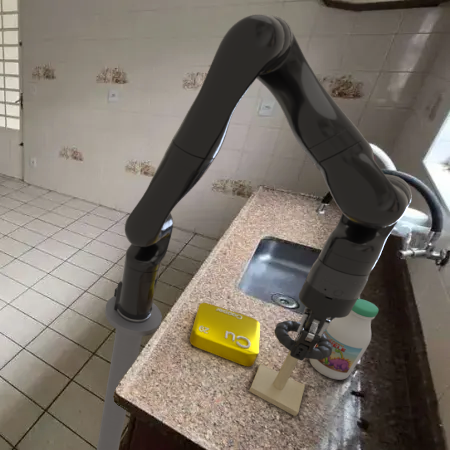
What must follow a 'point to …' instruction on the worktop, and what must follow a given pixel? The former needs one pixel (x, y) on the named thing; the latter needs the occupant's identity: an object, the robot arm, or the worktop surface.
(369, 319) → the milk bottle
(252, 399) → the worktop surface
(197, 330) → the element tile
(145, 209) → the robot arm
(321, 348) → the ring
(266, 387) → the stand
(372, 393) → the worktop surface
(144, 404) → the worktop surface
